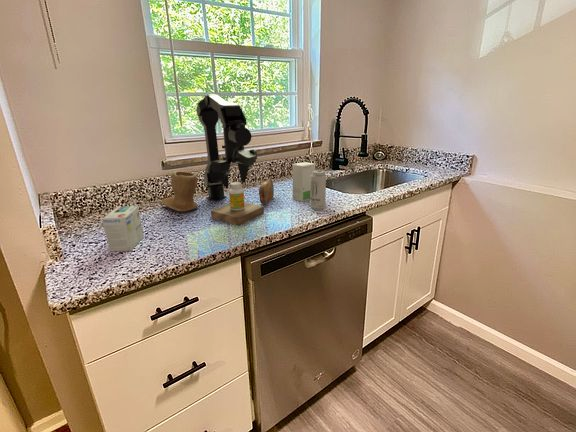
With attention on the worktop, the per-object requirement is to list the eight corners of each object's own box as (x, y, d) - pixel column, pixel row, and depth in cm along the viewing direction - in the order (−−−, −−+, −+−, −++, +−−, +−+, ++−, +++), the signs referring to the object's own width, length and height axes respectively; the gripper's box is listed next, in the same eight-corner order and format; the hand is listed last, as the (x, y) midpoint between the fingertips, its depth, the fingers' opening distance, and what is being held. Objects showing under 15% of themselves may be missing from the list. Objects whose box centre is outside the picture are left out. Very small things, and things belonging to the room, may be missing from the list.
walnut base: (211, 218, 116) (210, 210, 115) (236, 207, 127) (235, 200, 126) (240, 225, 109) (239, 217, 108) (264, 213, 120) (263, 206, 119)
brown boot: (206, 208, 127) (201, 172, 122) (178, 215, 119) (173, 177, 114) (187, 200, 137) (182, 166, 132) (161, 207, 129) (155, 171, 124)
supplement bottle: (233, 211, 114) (230, 186, 110) (228, 207, 118) (226, 182, 115) (246, 209, 116) (245, 184, 113) (242, 205, 121) (240, 180, 117)
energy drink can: (307, 208, 125) (307, 171, 120) (316, 204, 129) (317, 169, 124) (318, 211, 122) (319, 174, 116) (328, 207, 126) (329, 171, 120)
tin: (265, 207, 127) (264, 187, 124) (258, 206, 128) (257, 187, 125) (274, 196, 141) (274, 178, 138) (267, 196, 142) (267, 177, 139)
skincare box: (301, 202, 132) (302, 166, 127) (291, 199, 137) (291, 163, 131) (315, 198, 138) (316, 163, 132) (305, 195, 142) (305, 161, 137)
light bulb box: (123, 237, 102) (116, 205, 98) (144, 236, 102) (138, 205, 98) (108, 252, 92) (100, 218, 88) (132, 251, 92) (125, 217, 88)
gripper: (231, 147, 98) (235, 195, 103) (266, 140, 112) (268, 182, 118) (206, 145, 103) (211, 190, 109) (242, 138, 118) (245, 178, 124)
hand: (235, 185), depth 115 cm, fingers open, 9 cm apart
